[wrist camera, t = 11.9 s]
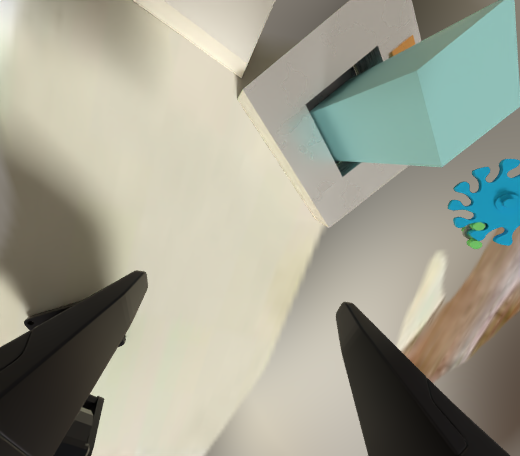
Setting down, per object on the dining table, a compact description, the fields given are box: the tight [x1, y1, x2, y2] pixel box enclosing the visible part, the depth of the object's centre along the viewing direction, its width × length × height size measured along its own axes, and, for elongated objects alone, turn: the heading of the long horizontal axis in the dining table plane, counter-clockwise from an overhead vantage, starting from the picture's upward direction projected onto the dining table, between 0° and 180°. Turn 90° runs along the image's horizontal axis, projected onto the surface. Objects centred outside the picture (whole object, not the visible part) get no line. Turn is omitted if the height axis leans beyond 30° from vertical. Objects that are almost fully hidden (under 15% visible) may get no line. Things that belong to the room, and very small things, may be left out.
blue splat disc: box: [448, 159, 520, 249], centre depth 25 cm, size 11×6×10 cm
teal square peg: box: [309, 0, 520, 167], centre depth 15 cm, size 5×5×11 cm
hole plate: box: [237, 0, 421, 228], centre depth 18 cm, size 14×14×3 cm
